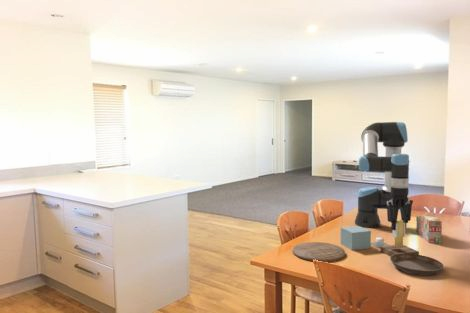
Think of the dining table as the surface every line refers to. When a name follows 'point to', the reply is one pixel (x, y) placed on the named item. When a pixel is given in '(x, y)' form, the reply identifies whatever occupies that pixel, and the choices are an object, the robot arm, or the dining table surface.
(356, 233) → the block
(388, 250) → the socket board
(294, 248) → the trivet
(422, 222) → the printed food box
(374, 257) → the dining table surface
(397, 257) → the plant saucer
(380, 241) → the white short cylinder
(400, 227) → the peg
